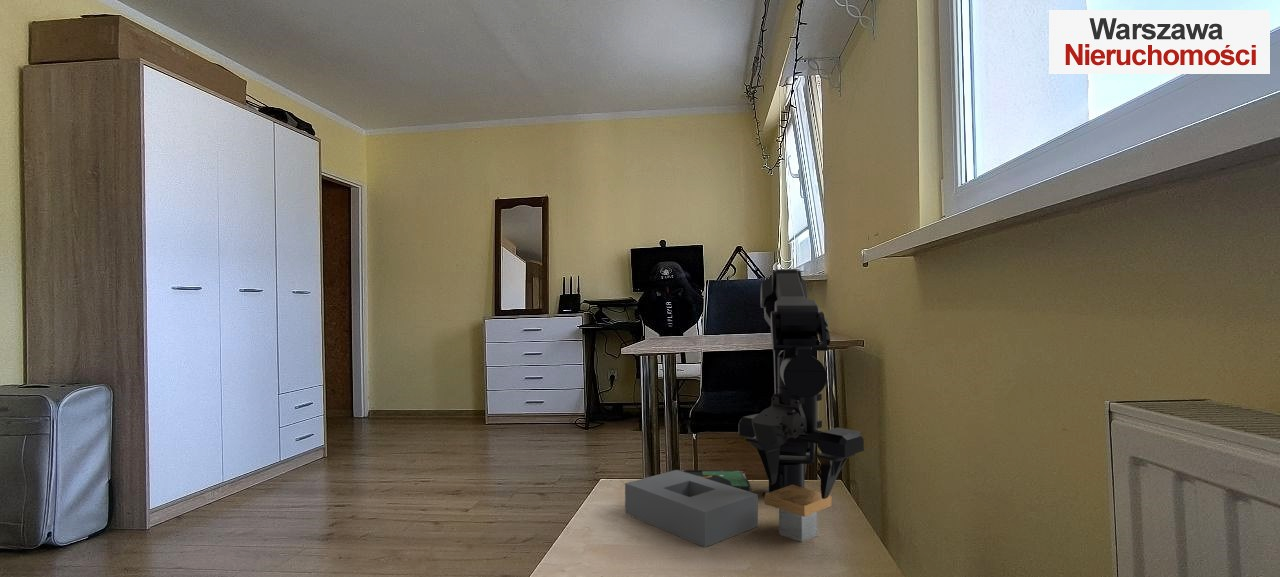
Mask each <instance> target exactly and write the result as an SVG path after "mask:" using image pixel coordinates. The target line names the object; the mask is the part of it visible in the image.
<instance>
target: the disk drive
mask: <svg viewBox="0 0 1280 577" xmlns="http://www.w3.org/2000/svg"><path fill="white" fill-rule="evenodd" d="M674 470H675V469H668V470H667V472H670V471H674ZM678 470H679V471H683V472H686V473H689V474H693V475H696V476H699V477H702V478H706V479H709V480H712V481H716V482H719V483H722V484H726V485H729V486H732V487H735V488H739V489H742V490H745V491H749V492H752V491H751V484H750V482H749V480H748V478H747V476H746V474H745V471H742V470H741V471H740V470H731V469H730V470H729V469H728V470H727V469H726V470H718V469H717V470H716V469H715V470H710V469H709V470H708V469H707V470H706V469H705V470H704V469H702V470H701V469H697V470H696V469H691V470H690V469H685V470H684V469H683V470H682V469H678Z"/></svg>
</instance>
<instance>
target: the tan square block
mask: <svg viewBox="0 0 1280 577" xmlns="http://www.w3.org/2000/svg"><path fill="white" fill-rule="evenodd" d="M832 499H833V498H832V495H831V494H829V496H828V498H826V499H822V496H821V491H817V490H813V489H809V488H806V487H804V488H802V487H799V486H795V485H790V486H787V487H784V488H781V489H778V490H775V491H772V492H769V493H766V494H764V505H767V506H770V507H773V508H776V509H778V531H779V532H778V533H779V534H778V535H780V536H783V537H785V538H787V539H788V538H789V539H792V540H794V541H797V542H799V543H803V542H805V541H808V540H811V539H812V538H814V537H817V536H818V512H819V511H822V510H824V509H827V508H829V507H832V505H833V504H832V501H833V500H832ZM816 535H817V536H816Z"/></svg>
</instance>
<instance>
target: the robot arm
mask: <svg viewBox="0 0 1280 577" xmlns="http://www.w3.org/2000/svg"><path fill="white" fill-rule="evenodd" d="M760 283H761V284H760V308H761V309H762V308H763V312H764V313H763V315H764V316H763V318H764V320H765V321H766V323H767V325H768V326H769V327H770V336H771V345H772V348H771V349H772V352H773V377H774V380H773V383H774V386H773V387H774V393H772V396H771V400H770V401H771V402H770V406H769V407H767V408H765V409H763V410H762V411H761V412H760V413H755V414H750V415H746V416H745V415H744V416H742V417H741V419H740V420H739V422H738V435H739V436H742V437H744V440H745V441H746V442H747V443H750V444H751V445H752V446H753V447H754V448H755V449H756V450H757V452H758V455H759V457H760V459H761V462H762V465H763V468H764V470H765V473H766V477H767V479H768V488H767V489H764V490H762V495H765V494H766V493H769V492H772V491H775V490H778V489H781V488H784V487H787V486H790V485H795V486H799V487H802V488H805V465H806V464H807V465H813V463H815V462H816V461H815V460H816V459H815V454H816V445H817V448H818V449H819V451H820V453H817V454H816V458H817V460H818V461H819V463H820V492H821V496H822V499H826V498H828V496H829V495H831V494H830V493H831V492H832V490H833V487H834V485H835V482H836V480H837V478H838V476H839V474H840V472H841V471H842V470H841V469H842V468H843V466H844V465H845V463H846V462H847V461H848V458H851V457H854V456H856V454H858V453H861V452H864V450H865V449H864V447H865V446H864V443H865V441H864V437H863V436H862V434H861V432H860V431H858V430H853V429H848V428H843V427H835V428H830V429H827V430H824V431H823V430H818V429H821V428H823V421H822V420H820V419H818V402H819V401H822V399H823V395H822V391H823V390H824V389H825V387H826V384H827V379H828V376H827V372H826V368H825V366H824V364H823V363H822V362H821V361H820V360H819V359H818V357H817V352H827V351H828V346H830V344H831V336H830V329H829V325H828V319H827V318H826V317H825V314H824V312H823V311H820V308H819V305H818V303H817V302H816V301H815V300H813V299H810V298H808V286H807V284H808V283H807V281H806V280H805V279H804V278H802V272H801V270H798V269H796V268H795V269H794V268H784V269H780V268H779V269H778V268H776V269H775V270H772V271H771V276H768V277H767V278H766V279H764V280H763V281H762V282H760Z"/></svg>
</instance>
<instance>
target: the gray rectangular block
mask: <svg viewBox="0 0 1280 577" xmlns="http://www.w3.org/2000/svg"><path fill="white" fill-rule="evenodd" d="M673 470H674V471H670V472H668V471H667V472H662V473H659V474H655V475H652V476H647V477H645V478H641V479H636V480H633V481H628V482H625V483H624V497H625V498H624V513H627V514H629V515H628V516H630V515H631V516H630V517H632V516H633V518H634V517H635V518H634V519H637V520H639V521H640V522H644V523H646V524H649V525H651V526H654V527H656V528H658V529H661V530H663V531H666V532H668V533H670V534H673V535H675V536H678V537H680V538H682V539H684V540H687V541H688V542H692V543H694V544H696V545H698V546H701V547H703V548H707V547H709V546H712V545H715V544H717V543H719V542H722V541H725V540H727V539H730V538H732V537H735V536H737V535H739V534H742V533H744V532H748V531H749V530H752V529H753V530H754V529H755V528H757V527H759V501H758V500H759V498H758V496H759V495H758V493H755V492H752V491H751V492H749V491H745V490H742V489H739V488H735V487H732V486H729V485H726V484H722V483H719V482H716V481H712V480H709V479H706V478H702V477H699V476H696V475H693V474H689V473H686V472H683V471H679V470H680V469H673ZM627 514H626V515H627Z"/></svg>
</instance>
